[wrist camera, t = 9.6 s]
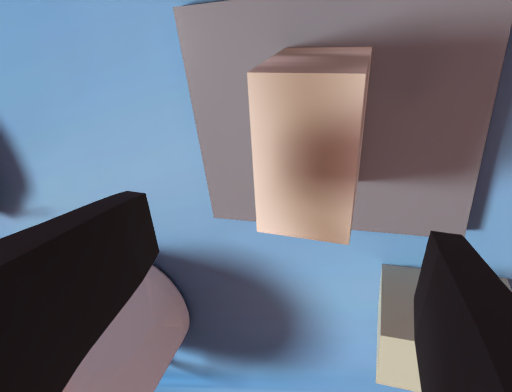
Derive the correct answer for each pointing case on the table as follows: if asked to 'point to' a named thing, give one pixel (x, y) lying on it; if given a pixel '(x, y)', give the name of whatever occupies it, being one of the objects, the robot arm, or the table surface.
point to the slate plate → (378, 98)
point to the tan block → (308, 139)
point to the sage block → (398, 328)
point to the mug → (136, 341)
